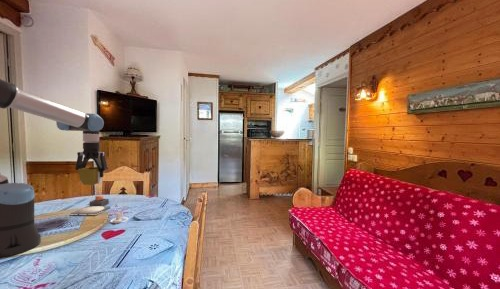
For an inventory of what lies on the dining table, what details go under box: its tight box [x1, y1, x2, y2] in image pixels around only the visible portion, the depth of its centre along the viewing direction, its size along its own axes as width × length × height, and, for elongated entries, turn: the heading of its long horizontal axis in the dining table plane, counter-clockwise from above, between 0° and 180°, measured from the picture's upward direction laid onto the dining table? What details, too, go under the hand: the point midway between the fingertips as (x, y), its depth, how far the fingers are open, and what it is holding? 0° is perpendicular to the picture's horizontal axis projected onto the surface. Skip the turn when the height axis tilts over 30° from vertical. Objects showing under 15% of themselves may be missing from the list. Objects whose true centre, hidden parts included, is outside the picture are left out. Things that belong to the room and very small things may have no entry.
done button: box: [94, 194, 104, 201], centre depth 140 cm, size 4×4×3 cm
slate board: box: [70, 205, 111, 215], centre depth 129 cm, size 13×13×1 cm
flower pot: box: [77, 166, 99, 186], centre depth 128 cm, size 9×9×9 cm
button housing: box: [89, 198, 109, 206], centre depth 140 cm, size 7×7×3 cm
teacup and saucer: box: [109, 211, 129, 224], centre depth 116 cm, size 9×8×4 cm
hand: (91, 182), depth 128 cm, fingers closed on flower pot, 8 cm apart
